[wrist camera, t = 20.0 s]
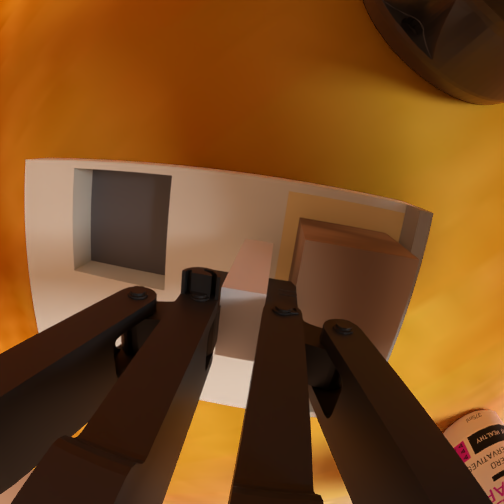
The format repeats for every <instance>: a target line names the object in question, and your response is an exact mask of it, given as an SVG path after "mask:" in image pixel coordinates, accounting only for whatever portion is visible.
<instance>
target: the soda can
mask: <svg viewBox="0 0 504 504" xmlns="http://www.w3.org/2000/svg"><path fill="white" fill-rule="evenodd" d="M443 435H444V436H445V437H446V439H447V440H448V441H449V443H450V444H451V445H452V447H453V448H454V449H455V451H456V452H457V453H458V455H459V456H460V458H461V459H462V460H463V462H464V463H465V464H466V466H467V467H468V469H469V470H470V471H471V473H472V474H473V476H474V477H475V478H476V480H477V481H478V483H479V484H480V486H481V487H482V488H483V490H484V491H485V493H486V494H487V496H488V497H489V498H490V500H491V501H492V503H493V504H504V424H503V423H502V421H501V419H500V418H499V416H498V415H497V413H496V412H495V411H492V410H478V411H474V412H472V413H469V414H467V415H465V416H463V417H462V418H460V419H458V420H457V421H455V422H454V423H453V424H452V425H451V426H450V427H448V428H447V429H446V430H445V432H444V433H443Z"/></svg>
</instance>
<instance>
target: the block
mask: <svg viewBox="0 0 504 504" xmlns="http://www.w3.org/2000/svg"><path fill="white" fill-rule="evenodd" d="M418 264H419V259H418V258H417V257H416V256H414V255H413V254H412V253H411V252H409V251H408V250H407V249H406V248H404V247H403V246H402V245H401V244H399V243H398V242H397V241H395V240H394V239H393V238H392V237H390V236H389V235H388V234H386V233H383V232H378V231H373V230H368V229H363V228H357V227H352V226H346V225H341V224H335V223H330V222H324V221H318V220H313V219H307V218H301V217H300V218H299V224H298V229H297V235H296V241H295V246H294V252H293V257H292V263H291V268H290V273H289V279H288V281H291V282H292V283H293V284H294V285H295V286H296V293H297V305H298V308H299V309H300V310H301V312H302V316H303V320H304V321H305V322H307V323H309V324H311V325H314V326H317V327H320V328H322V327H323V324H324V322H325V321H327V320H329V319H345V320H348V321H351V322H352V323H354V324H356V325H357V326H358V327H359V328H361V330H362V331H363V332H364V333H365V335H366V336H367V337H368V338H369V340H370V341H371V342H372V343H373V344H374V346H375V347H376V348H377V349H378V351H379V352H380V353H381V354H382V356H383V357H384V358H385V359H386V358H387V356H388V353H389V351H390V348H391V346H392V343H393V341H394V338H395V335H396V333H397V330H398V327H399V324H400V321H401V319H402V316H403V313H404V310H405V307H406V304H407V301H408V298H409V294H410V291H411V288H412V285H413V281H414V278H415V275H416V271H417V268H418Z"/></svg>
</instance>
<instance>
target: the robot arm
mask: <svg viewBox="0 0 504 504" xmlns="http://www.w3.org/2000/svg"><path fill="white" fill-rule="evenodd" d="M363 2H364V4H365V7H366V9H367V11H368V14H369V16H370V17H371V19H372V21H373V23H374V25H375V26H376V28H377V29H378V31H379V32H380V34H381V35H382V37H383V38H384V39H385V41H386V42H387V43H388V44H389V46H390V47H391V48H392V49H393V50H394V51H395V53H396V54H397V55H398V56H399V57H400V58H401V59H402V60H403V61H404V62H405V63H406V64H407V65H408V66H409V67H410V68H411V69H413V70H414V71H415V72H416V73H417V74H419V75H420V76H421V77H422V78H424V79H425V80H426V81H428V82H429V83H430V84H432V85H434V86H435V87H437V88H438V89H440V90H442V91H443V92H445V93H447V94H449V95H451V96H453V97H455V98H458V99H460V100H463V101H466V102H470V103H474V104H481V105H493V104H499V103H504V0H363ZM273 244H274V243H270V242H264V241H258V240H251V239H245V240H244V242H243V244H242V246H241V248H240V250H239V252H238V254H237V256H236V258H235V260H234V263H233V265H232V267H231V269H230V271H229V272H224V271H218V270H213V269H209V268H205V267H190V268H186V269H184V270H182V280H181V293H180V295H179V296H178V298H177V299H176V300H175V301H168V302H166V301H157V293H156V292H155V291H154V290H152V289H150V288H146V287H144V286H134V287H128V288H125V289H122V290H120V291H118V292H116V293H114V294H112V295H111V296H109V297H107V298H105V299H103V300H101V301H99V302H97V303H95V304H93V305H91V306H89V307H87V308H85V309H83V310H82V311H80V312H78V313H76V314H74V315H72V316H70V317H68V318H66V319H64V320H63V321H61V322H59V323H57V324H55V325H53V326H51V327H49V328H47V329H46V330H44V331H42V332H40V333H38V334H36V335H34V336H33V337H31V338H29V339H27V340H25V341H23V342H21V343H20V344H18V345H16V346H14V347H12V348H10V349H9V350H7V351H5V352H3V353H1V354H0V494H1V493H3V492H4V491H6V490H7V489H8V488H10V487H11V486H12V485H14V484H15V483H17V482H18V481H19V480H20V479H21V478H22V477H24V476H25V475H26V474H27V473H29V472H30V471H31V470H32V469H33V468H35V467H36V468H35V469H34V470H33V472H32V473H31V475H30V476H29V478H28V479H27V481H26V482H25V483H24V485H23V487H22V488H21V490H20V491H19V492H18V494H17V495H16V497H15V498H14V500H13V501H12V503H11V504H162V503H163V500H164V498H165V495H166V492H167V489H168V486H169V483H170V481H171V478H172V475H173V472H174V469H175V466H176V463H177V461H178V458H179V455H180V452H181V449H182V446H183V444H184V441H185V438H186V435H187V432H188V429H189V427H190V424H191V421H192V418H193V415H194V412H195V410H196V407H197V404H198V401H199V398H200V395H201V393H202V390H203V387H204V384H205V381H206V378H207V376H208V373H209V370H210V367H211V364H212V359H213V350H214V348H215V355H220V356H225V357H231V358H236V359H242V360H248V361H254V363H253V369H252V374H251V380H250V386H249V392H248V398H247V403H246V409H245V415H244V420H243V426H242V432H241V437H240V443H239V448H238V453H237V459H236V464H235V470H234V475H233V480H232V485H231V491H230V496H229V501H228V504H323V500H322V498H321V495H318V494H315V493H314V491H313V472H312V446H311V426H310V408H309V400H310V402H311V405H312V407H313V410H314V412H315V414H316V417H317V419H318V422H319V424H320V426H321V429H322V431H323V434H324V436H325V438H326V441H327V443H328V446H329V448H330V450H331V453H332V455H333V458H334V460H335V462H336V465H337V467H338V470H339V472H340V474H341V477H342V479H343V481H344V484H345V486H346V489H347V491H348V493H349V496H350V498H351V501H352V503H353V504H493V503H492V501H491V500H490V498H489V497H488V496H487V494H486V493H485V491H484V490H483V488H482V487H481V486H480V484H479V483H478V481H477V480H476V478H475V477H474V476H473V474H472V473H471V471H470V470H469V469H468V467H467V466H466V464H465V463H464V462H463V460H462V459H461V458H460V456H459V455H458V453H457V452H456V451H455V449H454V448H453V447H452V445H451V444H450V443H449V441H448V440H447V439H446V437H445V436H444V435H443V433H442V432H441V431H440V429H439V428H438V427H437V425H436V424H435V423H434V421H433V420H432V419H431V417H430V416H429V415H428V413H427V412H426V411H425V409H424V408H423V407H422V405H421V404H420V403H419V402H418V400H417V399H416V398H415V396H414V395H413V394H412V393H411V391H410V390H409V389H408V387H407V386H406V385H405V384H404V382H403V381H402V380H401V378H400V377H399V376H398V375H397V373H396V372H395V371H394V370H393V368H392V367H391V366H390V364H389V363H388V362H387V361H386V359H385V358H384V357H383V356H382V354H381V353H380V352H379V351H378V349H377V348H376V347H375V346H374V344H373V343H372V342H371V341H370V340H369V338H368V337H367V336H366V335H365V333H364V332H363V331H362V330H361V328H359V327H358V326H357V325H356V324H354V323H352V322H351V321H348V320H345V319H329V320H327V321H325V322H324V324H323V327H322V328H320V327H317V326H314V325H311V324H309V323H307V322H305V321H304V320H303V316H302V312H301V310H300V309H299V308H298V305H297V293H296V286H295V285H294V284H293V283H292V282H291V281H285V280H279V279H272V278H269V273H270V266H271V259H272V251H273ZM120 336H121V344H120V345H119V346H117V347H116V345H115V342H116V340H117V339H118V338H119V337H120ZM86 423H87V425H86V426H85V428H84V429H83V431H82V432H81V433H80V435H79V436H78V437H75V438H73V437H71V436H72V435H74V434H75V433H76V432H77V431H78V430H79V429H81V428H82V427H83V426H84V425H85V424H86Z"/></svg>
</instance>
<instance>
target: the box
mask: <svg viewBox="0 0 504 504" xmlns="http://www.w3.org/2000/svg"><path fill="white" fill-rule="evenodd" d="M300 217H301V218H307V219H313V220H318V221H324V222H330V223H335V224H341V225H346V226H352V227H357V228H363V229H368V230H373V231H378V232H383V233H386V234H388V235H389V236H390V237H392V238H393V239H394V240H395V241H397V242H398V243H399V244H401V245H402V246H403V247H404V248H406V249H407V250H408V251H409V252H411V253H412V254H413V255H414V256H416V257H417V258H418V259H419V264H418V268H417V271H416V275H415V278H414V281H413V285H412V288H411V291H410V294H409V298H408V301H407V304H406V307H405V310H404V313H403V316H402V319H401V321H400V324H399V327H398V330H397V333H396V335H395V338H394V341H393V343H392V346H391V348H390V351H389V353H388V356H387V358H386V361H387V362H388V360H389V357H390V355H391V352H392V350H393V347H394V344H395V342H396V339H397V337H398V334H399V331H400V328H401V326H402V323H403V320H404V317H405V314H406V311H407V308H408V305H409V302H410V299H411V296H412V293H413V290H414V286H415V283H416V280H417V276H418V273H419V269H420V266H421V262H422V259H423V255H424V251H425V247H426V243H427V239H428V235H429V231H430V226H431V222H432V217H433V213H431V212H429V211H426V210H424V209H421V208H419V207H416V206H414V205H411V204H409V203H406V202H403V201H399V200H395V199H390V198H386V197H381V196H377V195H372V194H367V193H362V192H357V191H352V190H347V189H342V188H337V187H331V186H326V185H320V184H315V183H309V182H303V181H297V180H291V179H285V178H278V177H272V176H265V175H258V174H251V173H244V172H236V171H228V170H220V169H212V168H203V167H193V166H184V165H173V164H162V163H150V162H136V161H121V160H103V159H78V158H38V159H27V160H26V163H25V232H26V247H27V259H28V269H29V277H30V285H31V292H32V299H33V305H34V311H35V317H36V322H37V327H38V332H39V333H40V332H42V331H44V330H46V329H47V328H49V327H51V326H53V325H55V324H57V323H59V322H61V321H63V320H64V319H66V318H68V317H70V316H72V315H74V314H76V313H78V312H80V311H82V310H83V309H85V308H87V307H89V306H91V305H93V304H95V303H97V302H99V301H101V300H103V299H105V298H107V297H109V296H111V295H112V294H114V293H116V292H118V291H120V290H122V289H125V288H128V287H134V286H144V287H146V288H150V289H152V290H154V291H155V292H156V293H157V301H166V302H168V301H175V300H176V299H177V298H178V296H179V295H180V293H181V280H182V270H184V269H186V268H190V267H205V268H209V269H213V270H218V271H224V272H229V271H230V269H231V267H232V265H233V263H234V260H235V258H236V256H237V254H238V252H239V250H240V248H241V246H242V244H243V242H244V240H245V239H251V240H258V241H264V242H270V243H274V244H273V251H272V259H271V266H270V273H269V278H272V279H279V280H285V281H288V279H289V273H290V268H291V263H292V257H293V252H294V246H295V241H296V235H297V229H298V224H299V218H300ZM120 344H121V336H120V337H119V338H118V339H117V340H116V342H115V345H116V347H117V346H119V345H120ZM253 363H254V361H248V360H242V359H236V358H231V357H225V356H220V355H215V348H214V350H213V359H212V364H211V367H210V370H209V373H208V376H207V378H206V381H205V384H204V387H203V390H202V393H201V395H200V398H199V400H204V401H208V402H213V403H218V404H223V405H229V406H234V407H240V408H246V403H247V398H248V392H249V386H250V380H251V374H252V369H253ZM309 408H310V417H316V414H315V412H314V410H313V407H312V405H311V402H310V400H309Z"/></svg>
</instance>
